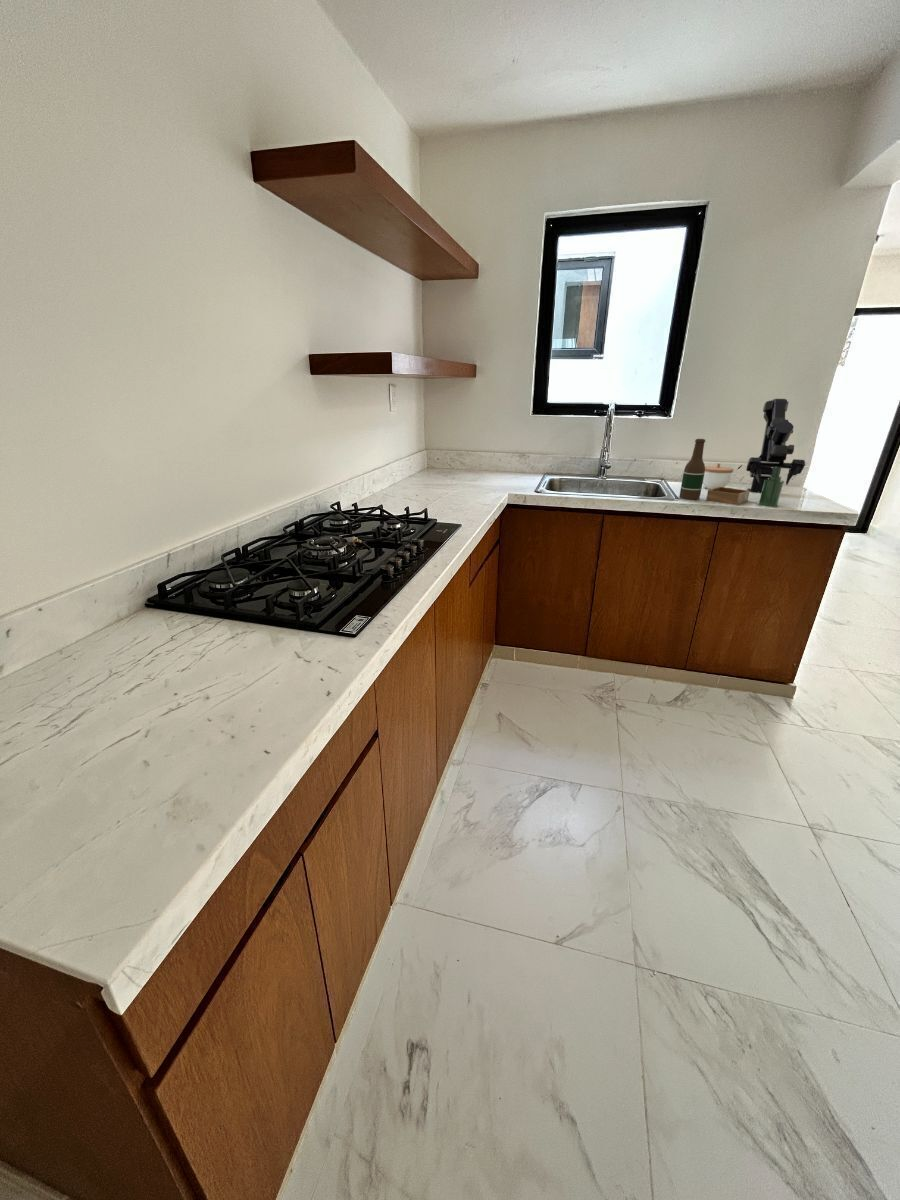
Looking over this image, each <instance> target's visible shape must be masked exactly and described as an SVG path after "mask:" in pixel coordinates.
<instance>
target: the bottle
mask: <svg viewBox="0 0 900 1200" xmlns="http://www.w3.org/2000/svg"><path fill="white" fill-rule="evenodd" d="M781 468H782V467H773V471H772V475H771V476H770V475H769V478H768V479H765V480H764V484H763V488H762V492H760V496H759V501H758V505H759V506H761V507H770V508H775V507H778V506H779V502H780V498H781V494H782V491H783V486H784V483H785V480H782V476H780V475H781V471H782V469H781Z"/></svg>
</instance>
